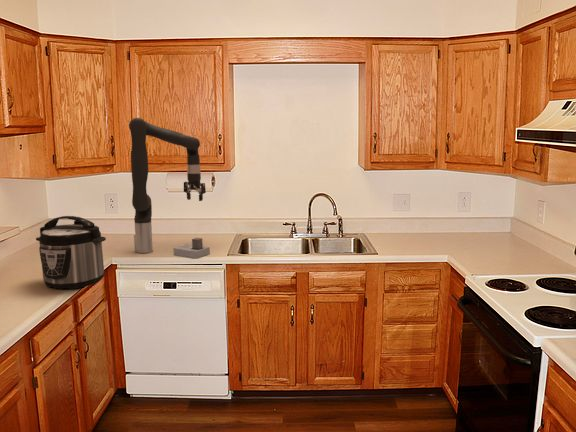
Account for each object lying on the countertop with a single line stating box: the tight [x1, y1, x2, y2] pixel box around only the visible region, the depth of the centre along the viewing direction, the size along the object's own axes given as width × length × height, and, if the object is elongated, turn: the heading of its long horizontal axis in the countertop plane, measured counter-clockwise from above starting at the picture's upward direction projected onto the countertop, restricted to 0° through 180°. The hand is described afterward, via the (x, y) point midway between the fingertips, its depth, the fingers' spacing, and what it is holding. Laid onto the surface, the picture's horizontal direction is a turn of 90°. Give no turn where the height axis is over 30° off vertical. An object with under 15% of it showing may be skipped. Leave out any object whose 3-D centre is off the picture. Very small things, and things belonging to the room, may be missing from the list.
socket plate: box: [173, 243, 211, 260], centre depth 315 cm, size 16×12×4 cm
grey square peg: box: [191, 237, 204, 250], centre depth 312 cm, size 4×4×8 cm
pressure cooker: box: [35, 215, 107, 290], centre depth 263 cm, size 30×28×32 cm
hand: (194, 200), depth 326 cm, fingers open, 8 cm apart
